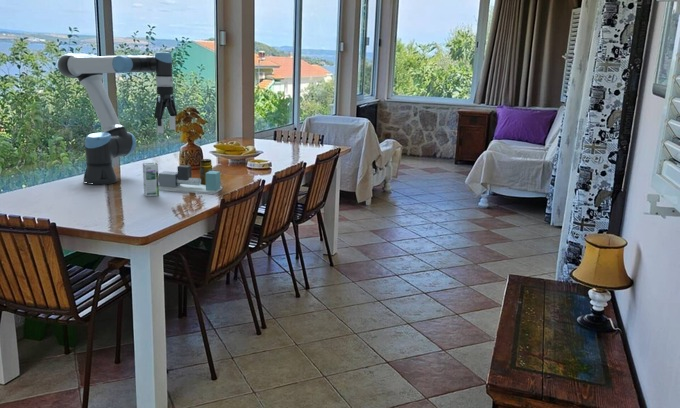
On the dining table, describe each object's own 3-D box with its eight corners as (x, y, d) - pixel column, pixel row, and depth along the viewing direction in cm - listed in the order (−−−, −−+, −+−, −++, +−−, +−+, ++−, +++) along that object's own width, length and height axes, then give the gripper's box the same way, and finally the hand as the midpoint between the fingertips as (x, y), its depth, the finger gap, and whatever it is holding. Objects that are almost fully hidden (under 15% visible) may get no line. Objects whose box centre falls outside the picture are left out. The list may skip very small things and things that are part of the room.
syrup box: (146, 196, 264) (144, 164, 261) (143, 193, 269) (142, 162, 266) (159, 195, 267) (158, 164, 263) (156, 193, 272) (155, 161, 268)
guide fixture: (156, 189, 278) (155, 170, 276) (167, 184, 289) (166, 166, 287) (213, 194, 274) (213, 175, 272) (222, 188, 286) (222, 170, 283)
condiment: (215, 184, 294) (215, 160, 292) (198, 185, 290) (198, 161, 287) (209, 181, 300) (209, 158, 297) (193, 182, 296) (193, 159, 293)
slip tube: (153, 183, 281) (153, 164, 279) (157, 181, 285) (157, 163, 283) (198, 186, 278) (197, 168, 276) (201, 184, 283) (201, 166, 280)
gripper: (160, 87, 265) (163, 134, 270) (182, 85, 289) (184, 128, 294) (145, 86, 266) (147, 134, 271) (168, 84, 290) (170, 127, 295)
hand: (166, 131), depth 283 cm, fingers open, 13 cm apart
